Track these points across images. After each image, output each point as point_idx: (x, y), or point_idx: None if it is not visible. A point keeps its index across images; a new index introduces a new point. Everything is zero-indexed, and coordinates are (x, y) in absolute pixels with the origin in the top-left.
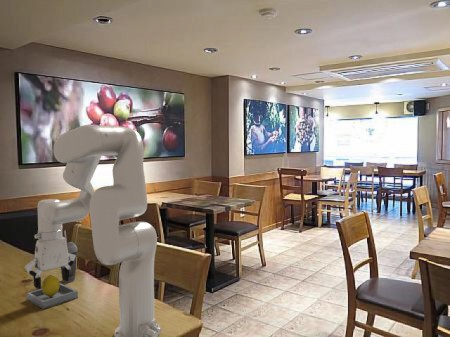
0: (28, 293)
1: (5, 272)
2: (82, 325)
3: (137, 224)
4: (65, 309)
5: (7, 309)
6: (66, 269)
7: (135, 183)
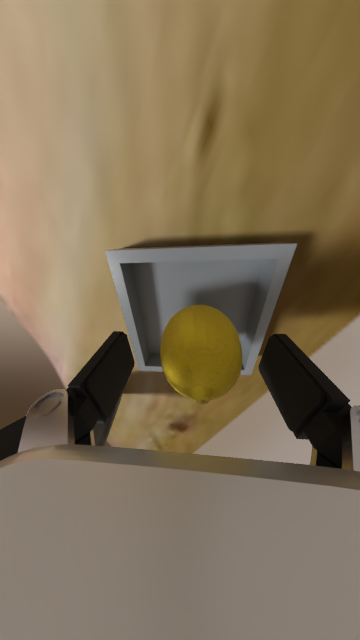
0: (250, 369)
1: None
2: None
3: None
4: (222, 133)
5: (320, 340)
6: (80, 398)
7: None
